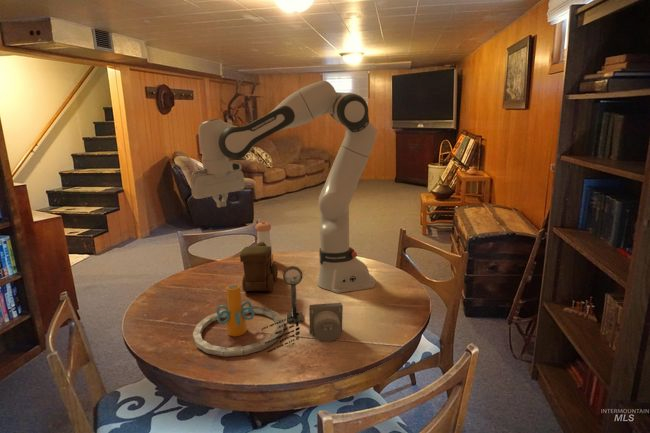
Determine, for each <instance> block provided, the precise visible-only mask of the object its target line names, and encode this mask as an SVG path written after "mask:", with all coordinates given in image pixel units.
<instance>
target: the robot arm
mask: <svg viewBox="0 0 650 433" xmlns="http://www.w3.org/2000/svg"><path fill="white" fill-rule="evenodd" d="M326 114H327V115H328V114H329V115H330V116H331V117H332V119H333V120H335V121H336V122H337V123H338V124H340V125H342V126H344V127H345V133H344V138H343V140H342V142H341V145H340V147H339V149H338V152H337V153H336V156H335V159H334V160H333V164H332V165H331V168H330V171H329V172H328V175H327V178H326V181H325V183H324V185H323V187H322V189H321V190H320V193H319V197H318V201H317V202H318V203H317V205H318V208H319V211H320V215H319V216H320V218H319V220H320V222H319V224H320V226H319V236H320V237H319V240H320V248H319V252H318V253H319V254H318V256H319V257H318V258H319V259H318V260H319V264H320V267H319V273H318V279H317V282H316V284H317V286H319V287H320V288H322V289H323V290H324V289H325V290H328V291H331V292H334V293H335V294H336V293H337V294H340V293H347V292H355V291H362V290H369V289H374V288H375V287H376V280H375V277H374V276H373V275H372V274H370V272H369V269H368V267H367V265H366V264H365V263H364V262H363V261H361V260H360V259H359V258H357V257H358V253H357V252H356V251H355V249H353V247H352V246H351V247H350V205H351V202H352V199H353V197H354V195H355V192H356V190H357V186H358V184H359V182H360V179H361V177H362V174H363V172H364V170H365V168H366V165H367V163H368V161H369V158H370V156H371V154H372V152H373V149H374V147H375V146H374V145H375V142H376V140H377V139H376V138H377V133H378V132H377V129H376V127H375V125H373V124H372V122H370V119H369V118H370V116H369V105H368V104H367V101H366V100H365V99H364V97H362V96H361V95H359V94H357V93H353V92H339V91H338V92H337V91H336V89H335V87H334V86H333V84H331V83H330V82H329V81H327V80H319V81H316V82H314V83H310V84H308V85H306V86H304V87H301V88H299V89H298V90H296V91H294V92H292V93H290V94H289V95H288V96H286V97H285V98H284V99H283V100H282V101H281V102H279V103H278V104H277V106H276V107H275V108H273V109H272V110H271V111H270V112H268V113H267V114H265V115H263V116H261V117H259V118H258V119H257V118H256V120H254V121H252V122H250V123H248V124H246V125H242V126H236V125H233V124H230V123H228V122H225V121H223V120H222V119H220V118H214V119H209V120H205V121H203V122H201V123H200V125H199V126H198V142H199V148H200V150H201V154H202V156H201V163H202V169H200V170H194V171H193V172H192V173H191V174H190V183H191V196H192V198H194V199H195V200H196V199H197V200H198V199H200V200H201V199H204V198H205V199H206V198H209V197H212V200H214V201H215V204H216V207H217V208H222V207H227V200H228V197H229V193H233V192H237V191H242V190H244V189H245V187H246V183H245V182H246V181H245V177H244V176H245V175H244V173H243V171H242V169H243V166H242V164H241V163H238V162H234V161H231V160H230V161H229V159H232V160H240V159H242V158H244V157H245V156H247V155H248V154H249V153H250V152H251V151H252V149H253V147H254V146H255V145H256V144H258V143H259V142H260V141H263V140H264V139H266V138H268V137H270V136H271V135H273V134H275V133H277V132H280V131H283V130H286V129H292V128H296V127H300V126H304V125H306V124H308V123H311V122H313V121H314V120H316V119H317V118H319V117H320V116H323V115H326ZM220 195H221V197H222V198H221V200H220V199H219V198H220Z"/></svg>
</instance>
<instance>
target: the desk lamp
mask: <svg viewBox="0 0 650 433" xmlns="http://www.w3.org/2000/svg"><path fill="white" fill-rule="evenodd" d="M282 279H283V281H284V283H286V284H287V285H288V286H290V296H291V297H290V299H291V312H286V323H288V324H289V322H290V321H292V320H294V322H293V323H295V324H296V322H298V323H303V312H302V311H297V310H298V308H297V285H299V284H300V283H301V282H302V280H303V272H302V270H301V268H299V267H297V266H296V265H292V266H288V267H286V268H285V269H284V271H283V273H282ZM296 313H299V316H297V317H298V320H297V317H296V316H295V314H296ZM291 316H294V317H293V318H291ZM287 318H288V320H287ZM289 318H290V319H289ZM296 320H297V321H296ZM290 323H291V322H290ZM293 323H291V324H293Z"/></svg>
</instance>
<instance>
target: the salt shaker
mask: <svg viewBox="0 0 650 433" xmlns="http://www.w3.org/2000/svg"><path fill="white" fill-rule="evenodd" d="M254 228H255V231H256V232H257V244H258V243H259V242H264V243H265V244H266V246H270V247H271V265H272V264H274V254H273V246H272V242H271V234H270V233H271V229H272V225H271V223H270V222H266V221H264V220H262V221H260V222H258V223H256V224H255V226H254ZM257 244H256V245H257Z"/></svg>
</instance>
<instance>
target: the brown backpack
mask: <svg viewBox="0 0 650 433" xmlns="http://www.w3.org/2000/svg"><path fill="white" fill-rule="evenodd" d="M239 261H240V263H243V271H244V272H243V273H244V274H243V276H242V280H241V281H242V284H241V286H242V290H243V292H244V293H247V292H249V291H251V292H252V291H257V292H259V291H260V292H261V291H265V292H266V291H267V292H268V293H271V292H272V291H274V290H273V289H274V284H275V283H274V282H276V281H277V279H278V274H279V271H278V268H279V267H278V265H277V263H275V262H273V263H272V264H271V247H270V246H266V244H265V243H264V242H259V243H258V244H256V245H249V246H245V247H244V248H243V249H242V250H241V252H240V254H239Z"/></svg>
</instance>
